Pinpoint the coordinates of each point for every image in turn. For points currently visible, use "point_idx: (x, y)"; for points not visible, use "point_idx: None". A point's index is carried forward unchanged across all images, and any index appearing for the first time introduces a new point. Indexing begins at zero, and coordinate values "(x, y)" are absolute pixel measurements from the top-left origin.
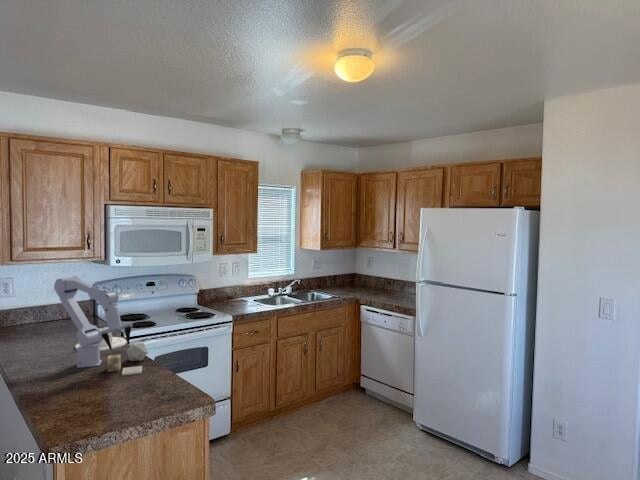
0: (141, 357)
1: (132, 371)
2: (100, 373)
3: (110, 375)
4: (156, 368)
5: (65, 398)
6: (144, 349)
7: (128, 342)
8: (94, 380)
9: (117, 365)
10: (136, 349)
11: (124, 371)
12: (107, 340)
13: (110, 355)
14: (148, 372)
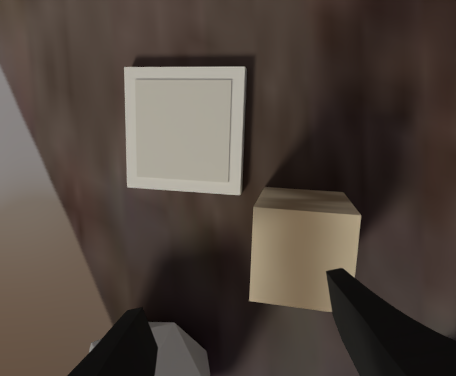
0: None
1: (177, 88)
2: (392, 172)
3: (322, 100)
4: (54, 139)
5: None
6: None
7: (127, 317)
8: (435, 21)
9: (276, 195)
10: None
11: (229, 107)
12: (421, 341)
13: None
14: (91, 77)
